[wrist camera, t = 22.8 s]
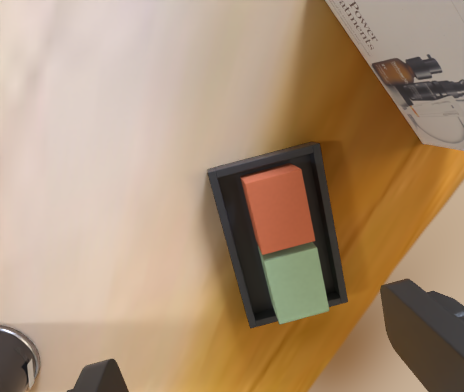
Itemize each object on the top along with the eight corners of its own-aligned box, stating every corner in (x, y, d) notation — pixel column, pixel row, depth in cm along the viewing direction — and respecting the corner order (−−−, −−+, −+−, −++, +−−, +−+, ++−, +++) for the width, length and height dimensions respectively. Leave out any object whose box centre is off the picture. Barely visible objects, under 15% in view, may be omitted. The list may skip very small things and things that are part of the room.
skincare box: (303, -16, 31) (403, -148, 15) (348, -58, 30) (497, -238, 15) (419, 149, 36) (582, 175, 20) (459, 116, 35) (658, 116, 20)
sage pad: (271, 303, 38) (279, 324, 34) (257, 246, 36) (263, 261, 32) (316, 291, 38) (329, 311, 34) (305, 233, 36) (317, 247, 32)
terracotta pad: (255, 240, 36) (262, 255, 32) (239, 176, 34) (244, 183, 30) (303, 227, 36) (315, 241, 32) (290, 162, 34) (301, 168, 30)
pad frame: (247, 316, 39) (250, 328, 37) (207, 169, 34) (207, 172, 32) (340, 291, 39) (348, 302, 37) (312, 141, 34) (319, 143, 32)
